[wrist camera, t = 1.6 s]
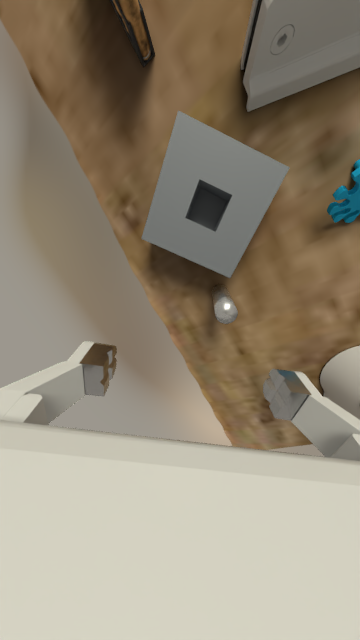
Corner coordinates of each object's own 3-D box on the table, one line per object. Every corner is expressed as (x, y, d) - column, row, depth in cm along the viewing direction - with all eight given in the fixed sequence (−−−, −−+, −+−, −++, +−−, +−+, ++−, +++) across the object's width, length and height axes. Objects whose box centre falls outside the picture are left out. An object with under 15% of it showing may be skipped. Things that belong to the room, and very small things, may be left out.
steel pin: (231, 288, 35) (241, 309, 26) (223, 302, 36) (230, 326, 27) (216, 282, 34) (221, 300, 25) (208, 296, 36) (211, 318, 27)
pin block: (272, 179, 27) (289, 167, 22) (225, 270, 33) (230, 278, 28) (182, 135, 26) (178, 110, 21) (151, 237, 32) (141, 238, 27)
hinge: (244, 113, 25) (263, -11, 15) (237, 74, 24) (252, -78, 14) (396, 52, 21) (552, -159, 11) (390, 7, 21) (545, -250, 11)
